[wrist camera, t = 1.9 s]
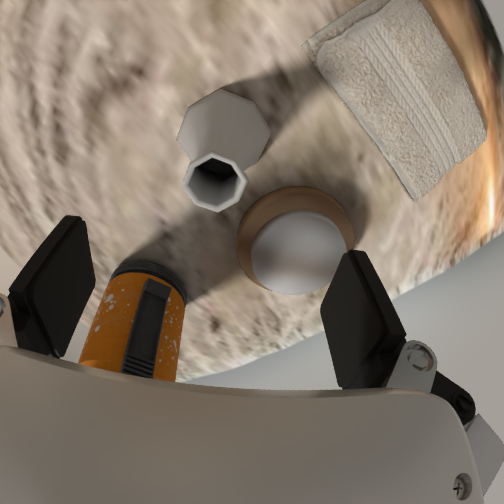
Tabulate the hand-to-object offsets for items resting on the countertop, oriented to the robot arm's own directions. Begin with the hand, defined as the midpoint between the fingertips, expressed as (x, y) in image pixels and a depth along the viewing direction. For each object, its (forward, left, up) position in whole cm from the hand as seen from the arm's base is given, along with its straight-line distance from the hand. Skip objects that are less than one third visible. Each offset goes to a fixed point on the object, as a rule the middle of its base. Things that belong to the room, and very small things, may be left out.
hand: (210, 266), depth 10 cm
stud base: (+8, +8, -16) cm, 19 cm away
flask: (-1, 0, -16) cm, 16 cm away
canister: (+16, -6, -16) cm, 24 cm away
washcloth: (-8, +14, -16) cm, 23 cm away
